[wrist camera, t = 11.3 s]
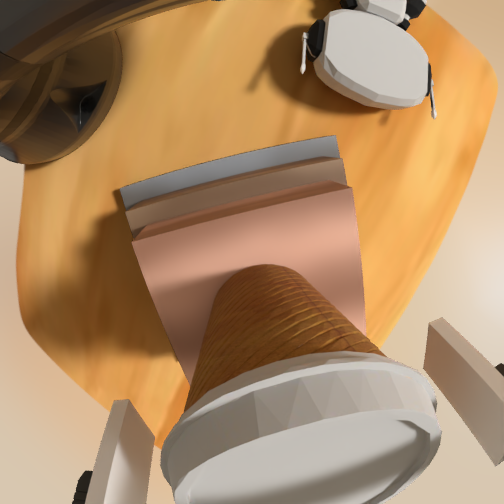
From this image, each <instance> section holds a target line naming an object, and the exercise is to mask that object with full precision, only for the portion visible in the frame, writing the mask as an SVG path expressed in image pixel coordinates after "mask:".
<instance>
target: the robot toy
mask: <svg viewBox="0 0 504 504" xmlns="http://www.w3.org/2000/svg"><path fill="white" fill-rule="evenodd" d="M426 1H427V0H341V1H340V4H341V6H342V9H340V10H335V11H331V12H330V13H329V14H328V15H327V16H326V17H325V18H324V19H323V20H316V22H315V23H314V24H313V25H312V26H311V28H310V29H309V31H308V32H307V33H305V32H304V33H303V35H302V42H303V49H302V63H301V67H300V72H301V73H302V74H303V73H304V71H305V66H306V65H305V55H306V54H307V58H308V60H309V61H311V62H313V65H314V69H315V72H316V75H317V76H318V77H319V78H320V79H321V80H322V81H323V82H324V83H325V84H326V85H327V86H329V87H330V88H331V89H333V90H335V91H337V92H338V93H340V94H342V95H344V96H346V97H348V98H350V99H352V100H354V101H356V102H358V103H361V104H363V105H365V106H371V107H376V108H382V109H392V110H399V109H404V108H408V107H412V106H415V105H418V104H420V103H422V101H423V99H424V97H426V96H428V95H429V92H430V99H431V108H432V111H431V115H432V117H433V118H434V120H435V118H436V116H437V115H436V111H435V103H434V95H433V88H432V86H434V84H433V80H432V74H431V65H430V64H429V62H428V56H427V54H426V53H425V51H424V49H423V48H422V47H421V45H420V44H419V43H418V42H417V41H416V40H415V39H414V38H413V37H412V36H411V35H410V34H408V33H407V32H406V30H407V28H408V27H409V25H410V23H409V21H408V20H409V19H413V18H417V17H418V16H419V15H420V14H421V12H422V11H423V9H424V8H425V6H426Z"/></svg>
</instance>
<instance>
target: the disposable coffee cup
mask: <svg viewBox="0 0 504 504" xmlns="http://www.w3.org/2000/svg"><path fill="white" fill-rule="evenodd" d="M436 407H437V401H436V396H435V392H434V389H433V388H432V386H431V385H430V384H429V382H428V380H427V379H426V378H425V377H424V376H423V375H422V374H421V373H420V372H419V371H418V370H415V369H413V368H411V367H409V366H406V365H404V364H402V363H400V362H397V361H394V360H393V359H391V358H388V357H387V356H385V355H384V354H383V353H382V352H381V351H380V350H379V349H378V347H377V346H375V345H374V344H373V343H371V342H370V340H369V339H368V338H367V337H366V336H365V335H363V334H362V332H361V331H360V330H359V329H357V328H356V327H355V326H354V325H353V324H352V323H351V322H350V321H349V320H348V319H347V318H346V317H345V316H344V315H343V314H342V313H341V312H340V311H339V310H337V309H336V307H335V306H334V305H332V304H331V303H330V301H328V300H327V299H326V298H325V297H324V296H323V295H321V293H320V292H319V291H317V290H316V288H314V287H313V286H312V285H311V284H310V283H309V282H308V281H307V280H306V279H305V278H304V277H303V276H302V275H300V274H299V273H298V272H296V271H295V270H292V269H290V268H288V267H285V266H279V265H274V264H262V265H256V266H252V267H249V268H246V269H243V270H241V271H240V272H238V273H236V274H234V275H233V276H232V277H231V278H229V279H228V280H227V281H226V282H225V283H224V284H223V285H222V287H221V288H220V289H219V290H218V293H217V295H216V297H215V299H214V302H213V306H212V310H211V314H210V317H209V321H208V324H207V328H206V331H205V334H204V337H203V342H202V345H201V349H200V353H199V357H198V360H197V364H196V368H195V371H194V375H193V378H192V382H191V386H190V390H189V394H188V398H187V402H186V405H185V409H184V413H183V414H182V415H181V417H180V419H179V421H178V423H177V424H175V425H174V427H173V429H172V430H171V432H170V433H169V435H168V436H167V438H166V439H165V441H164V444H163V447H162V451H161V465H160V466H161V469H162V472H163V475H164V477H165V479H166V480H167V482H168V483H169V484H170V486H171V487H172V491H173V496H174V501H175V503H176V504H383V503H385V502H387V501H388V500H390V499H391V498H393V497H394V496H396V495H397V494H398V493H400V492H401V491H403V490H404V489H405V488H406V487H408V486H409V485H410V484H411V483H412V482H413V481H414V480H416V478H418V477H419V476H420V474H421V473H422V472H423V471H424V470H425V469H426V468H427V466H428V465H429V464H430V463H431V461H432V459H433V458H434V456H435V454H436V453H437V450H438V448H439V445H440V440H441V434H442V431H441V428H440V425H439V422H438V419H437V416H436Z"/></svg>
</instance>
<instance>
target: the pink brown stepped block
mask: <svg viewBox="0 0 504 504" xmlns="http://www.w3.org/2000/svg"><path fill="white" fill-rule="evenodd" d="M120 191H121V195H122V198H123V202H124V205H125V208H126V212H125V213H126V216H127V220H128V223H129V226H130V229H131V232H132V235H133V238H134V240H133V241H132V242H131V243H132V246H133V249H134V251H135V254H136V257H137V260H138V263H139V265H140V268H141V271H142V274H143V276H144V279H145V282H146V284H147V287H148V290H149V292H150V295H151V297H152V300H153V302H154V305H155V307H156V310H157V312H158V315H159V317H160V320H161V322H162V324H163V327H164V329H165V331H166V334H167V336H168V338H169V341H170V343H171V345H172V347H173V350H174V352H175V354H176V356H177V359H178V361H179V363H180V365H181V367H182V369H183V371H184V374H185V376H186V378H187V380H188V382H189V384H190V386H191V382H192V378H193V375H194V371H195V368H196V364H197V360H198V357H199V353H200V349H201V345H202V342H203V337H204V334H205V331H206V328H207V324H208V321H209V317H210V314H211V310H212V306H213V302H214V299H215V297H216V295H217V293H218V290H219V289H220V288H221V287H222V285H223V284H224V283H225V282H226V281H227V280H228V279H229V278H231V277H232V276H233V275H234V274H236V273H238V272H240V271H241V270H243V269H246V268H249V267H252V266H256V265H262V264H274V265H279V266H285V267H288V268H290V269H292V270H295V271H296V272H298V273H299V274H300V275H302V276H303V277H304V278H305V279H306V280H307V281H308V282H309V283H310V284H311V285H312V286H313V287H314V288H316V290H317V291H319V292H320V293H321V295H323V296H324V297H325V298H326V299H327V300H328V301H330V303H331V304H332V305H334V306H335V307H336V309H337V310H339V311H340V312H341V313H342V314H343V315H344V316H345V317H346V318H347V319H348V320H349V321H350V322H351V323H352V324H353V325H354V326H355V327H356V328H357V329H359V330H360V331H361V332H362V334H363V335H365V336H366V319H365V301H364V287H363V274H362V263H361V253H360V244H359V235H358V227H357V219H356V211H355V204H354V197H353V191H352V187H349V186H347V181H346V175H345V169H344V164H343V158H340V155H339V150H338V144H337V139H336V135H333V136H326V137H320V138H314V139H309V140H303V141H298V142H293V143H288V144H283V145H278V146H273V147H268V148H264V149H259V150H254V151H250V152H246V153H241V154H237V155H233V156H229V157H225V158H221V159H217V160H213V161H209V162H205V163H202V164H198V165H194V166H190V167H187V168H183V169H180V170H176V171H173V172H169V173H166V174H163V175H159V176H156V177H153V178H149V179H146V180H143V181H140V182H137V183H134V184H131V185H127V186H124V187H122V188H120Z"/></svg>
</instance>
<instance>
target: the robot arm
mask: <svg viewBox="0 0 504 504" xmlns="http://www.w3.org/2000/svg"><path fill="white" fill-rule="evenodd" d="M203 1H207V0H0V156H1V157H4V158H5V159H7V160H9V161H12V162H15V163H20V164H36V163H43V162H49V161H53V160H56V159H59V158H62V157H64V156H66V155H68V154H69V153H71V152H73V151H74V150H76V149H77V148H78V147H80V146H81V145H82V144H83V143H84V142H85V141H87V140H88V139H89V138H90V137H91V135H92V134H93V133H94V132H95V131H96V130H97V128H98V127H99V126H100V124H101V123H102V121H103V120H104V118H105V117H106V115H107V113H108V112H109V110H110V108H111V106H112V104H113V101H114V99H115V97H116V94H117V91H118V87H119V84H120V79H121V73H122V51H121V46H120V42H119V39H118V37H117V34H116V33H115V31H114V30H115V29H117V28H119V27H122V26H124V25H127V24H129V23H132V22H135V21H138V20H141V19H143V18H146V17H149V16H152V15H155V14H159V13H162V12H165V11H169V10H172V9H175V8H179V7H183V6H187V5H191V4H195V3H199V2H203ZM212 1H214V0H212ZM215 1H223V0H215ZM423 369H424V370H425V371H426V372H427V374H428V375H429V376H430V377H431V379H432V380H433V381H434V383H435V384H436V385H437V387H438V388H439V389H440V390H441V392H442V393H443V394H444V396H445V397H446V398H447V400H448V401H449V402H450V404H451V405H452V406H453V407H454V409H455V410H456V412H457V413H458V414H459V416H460V417H461V418H462V419H463V421H464V422H465V424H466V425H467V426H468V428H469V429H470V430H471V432H472V433H473V435H474V436H475V437H476V439H477V440H478V442H479V443H480V444H481V446H482V447H483V449H484V450H485V452H486V453H487V455H488V456H489V457H490V459H491V460H492V462H493V463H494V465H495V466H497V465H498V464H500V463H501V462H502V461H504V364H502V363H501V364H499V365H497V366H496V367H493V365H491V363H490V362H489V361H488V360H486V358H485V357H483V355H482V354H480V353H479V352H478V351H477V350H476V349H475V348H474V347H473V346H472V345H471V344H470V343H469V342H468V341H467V340H466V339H465V338H464V337H463V336H462V335H461V334H460V333H459V332H458V331H456V330H455V329H454V328H453V327H452V326H451V325H450V324H449V323H448V322H447V321H446V320H445V319H443V318H440V319H437V320H435V321H433V322H430V323H429V327H428V336H427V345H426V353H425V360H424V368H423ZM154 440H155V436H154V435H153V433H152V432H151V431H150V429H149V428H148V427H147V425H146V424H145V422H144V421H143V419H142V418H141V417H140V415H139V414H138V412H137V411H136V409H135V408H134V406H133V405H132V403H131V402H130V400H129V399H126V400H116V401H114V402H113V405H112V408H111V412H110V415H109V418H108V421H107V424H106V428H105V431H104V434H103V438H102V441H101V445H100V448H99V451H98V455H97V459H96V462H95V466H94V469H93V471H85V472H84V473H83V474H82V476H81V477H80V479H79V480H78V484H77V487H76V492H75V495H74V501H73V502H72V504H146V499H147V491H148V483H149V475H150V468H151V461H152V453H153V447H154Z"/></svg>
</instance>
